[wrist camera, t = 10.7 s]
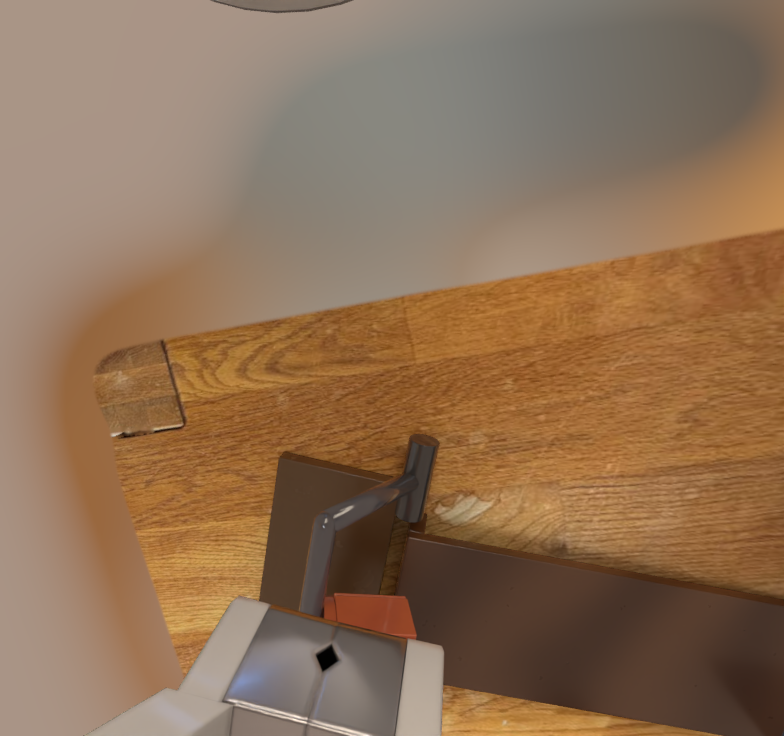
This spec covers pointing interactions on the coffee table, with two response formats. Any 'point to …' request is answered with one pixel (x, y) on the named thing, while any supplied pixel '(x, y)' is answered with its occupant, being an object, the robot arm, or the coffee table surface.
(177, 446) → the coffee table surface
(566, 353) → the coffee table surface
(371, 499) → the terracotta cup
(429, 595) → the ramp
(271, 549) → the cup stand
